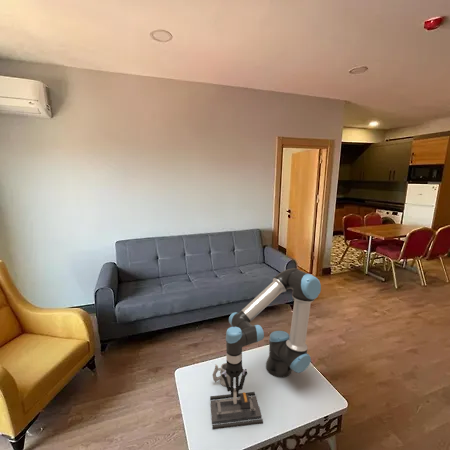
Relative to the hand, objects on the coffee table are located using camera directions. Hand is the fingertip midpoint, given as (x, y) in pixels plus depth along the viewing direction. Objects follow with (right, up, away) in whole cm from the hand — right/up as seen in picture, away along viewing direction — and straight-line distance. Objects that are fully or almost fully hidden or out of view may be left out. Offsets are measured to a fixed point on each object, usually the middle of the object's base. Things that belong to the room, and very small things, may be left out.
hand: (234, 401), depth 129 cm
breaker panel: (0, -5, +1) cm, 5 cm away
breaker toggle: (+5, -3, +1) cm, 6 cm away
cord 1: (-1, -4, +9) cm, 10 cm away
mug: (-6, -2, +19) cm, 20 cm away
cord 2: (+1, -6, -7) cm, 10 cm away
